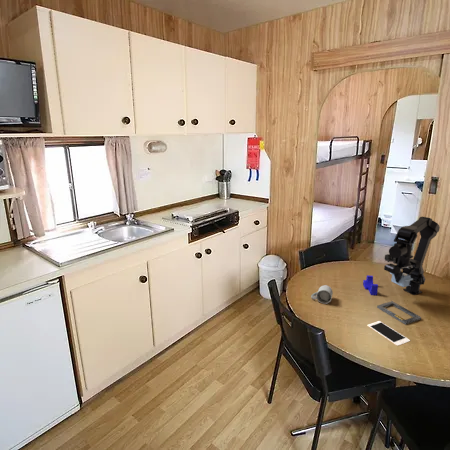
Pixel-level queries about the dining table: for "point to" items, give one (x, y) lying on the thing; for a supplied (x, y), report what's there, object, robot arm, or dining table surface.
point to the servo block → (402, 280)
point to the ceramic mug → (323, 294)
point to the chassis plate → (407, 321)
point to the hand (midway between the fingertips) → (400, 281)
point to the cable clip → (370, 285)
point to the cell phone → (388, 333)
